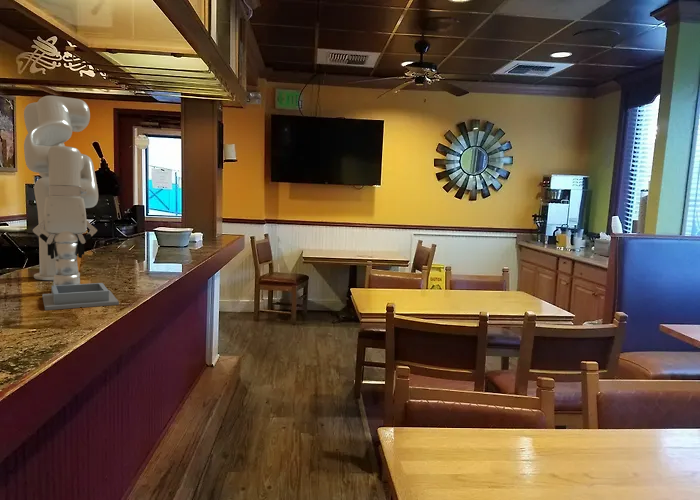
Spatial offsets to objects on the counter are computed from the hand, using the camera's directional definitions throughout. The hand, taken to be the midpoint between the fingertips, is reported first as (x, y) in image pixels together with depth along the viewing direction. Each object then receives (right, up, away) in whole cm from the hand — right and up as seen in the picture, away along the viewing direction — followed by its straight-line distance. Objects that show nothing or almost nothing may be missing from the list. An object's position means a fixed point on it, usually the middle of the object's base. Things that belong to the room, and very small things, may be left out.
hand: (66, 257), depth 139 cm
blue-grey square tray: (+9, -11, -9) cm, 17 cm away
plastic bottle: (0, -10, +1) cm, 10 cm away
